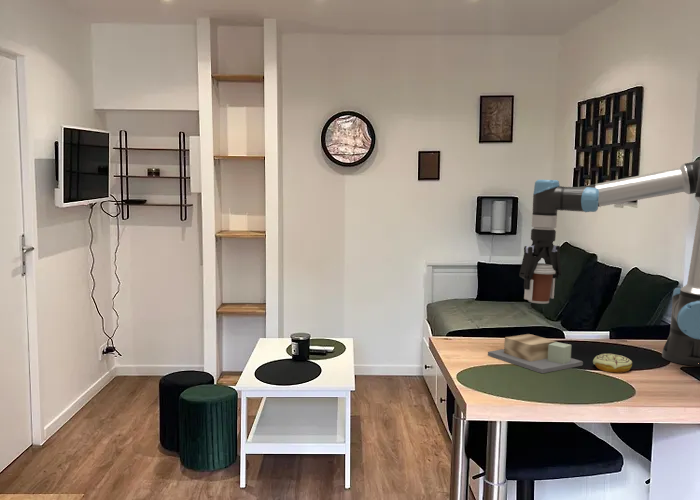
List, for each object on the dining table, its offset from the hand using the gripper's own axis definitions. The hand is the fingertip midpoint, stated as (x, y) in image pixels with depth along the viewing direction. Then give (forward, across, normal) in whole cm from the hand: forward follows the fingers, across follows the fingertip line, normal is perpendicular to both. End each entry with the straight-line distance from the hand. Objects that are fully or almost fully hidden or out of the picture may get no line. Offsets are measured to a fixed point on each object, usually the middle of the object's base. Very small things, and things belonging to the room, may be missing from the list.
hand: (539, 298), depth 211 cm
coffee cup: (+1, 0, 0) cm, 1 cm away
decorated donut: (+18, -8, +23) cm, 30 cm away
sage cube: (+17, +4, +13) cm, 21 cm away
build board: (+18, +7, +6) cm, 20 cm away
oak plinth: (+17, +7, +4) cm, 19 cm away
